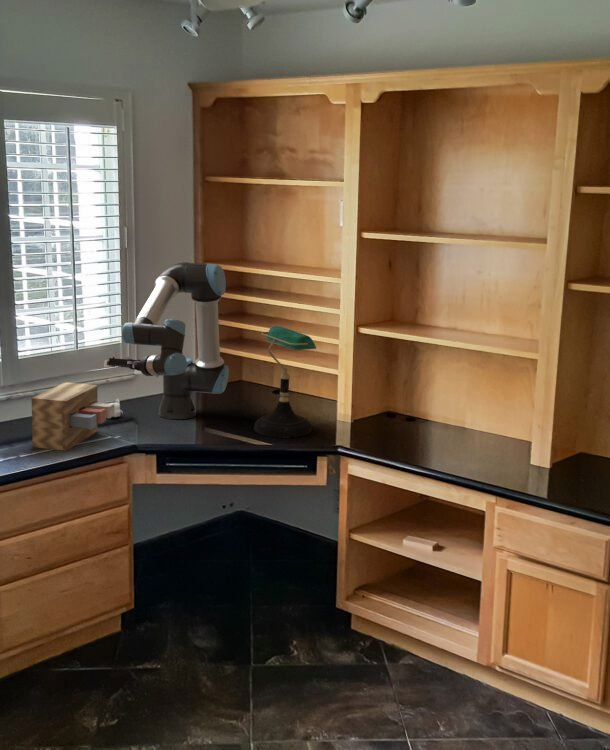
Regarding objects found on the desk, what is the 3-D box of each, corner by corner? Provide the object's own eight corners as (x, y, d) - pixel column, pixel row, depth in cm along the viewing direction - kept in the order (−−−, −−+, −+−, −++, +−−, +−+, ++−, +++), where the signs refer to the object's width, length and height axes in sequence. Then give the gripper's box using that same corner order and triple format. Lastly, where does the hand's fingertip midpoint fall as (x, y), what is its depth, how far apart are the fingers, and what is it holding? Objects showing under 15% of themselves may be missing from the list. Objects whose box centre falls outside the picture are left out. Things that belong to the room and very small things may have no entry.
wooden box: (97, 431, 334) (97, 385, 330) (66, 450, 309) (65, 401, 305) (65, 427, 336) (65, 382, 332) (32, 447, 311) (31, 397, 308)
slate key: (96, 426, 313) (96, 414, 312) (91, 429, 309) (91, 417, 308) (65, 423, 315) (64, 411, 314) (59, 426, 311) (59, 414, 310)
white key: (114, 415, 328) (114, 403, 327) (109, 418, 324) (109, 406, 323) (84, 412, 330) (84, 400, 329) (79, 415, 326) (79, 403, 325)
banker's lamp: (325, 435, 342) (330, 334, 333) (273, 442, 330) (277, 337, 321) (291, 418, 364) (295, 323, 355) (241, 424, 352) (244, 326, 343)
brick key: (105, 420, 321) (105, 408, 320) (100, 423, 316) (100, 411, 315) (75, 417, 323) (74, 405, 322) (69, 420, 318) (69, 408, 318)
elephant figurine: (112, 421, 348) (112, 404, 346) (96, 417, 353) (96, 399, 352) (127, 418, 354) (127, 400, 352) (111, 413, 359) (111, 396, 358)
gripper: (123, 369, 304) (90, 371, 319) (180, 381, 321) (146, 383, 336) (126, 348, 305) (93, 350, 320) (182, 361, 322) (149, 363, 337)
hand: (120, 367), depth 328 cm, fingers open, 13 cm apart
